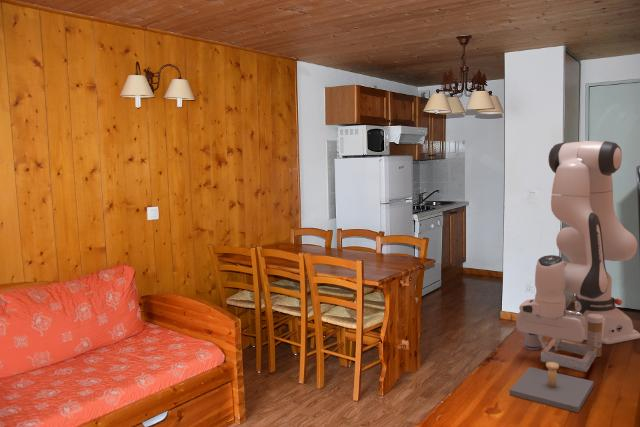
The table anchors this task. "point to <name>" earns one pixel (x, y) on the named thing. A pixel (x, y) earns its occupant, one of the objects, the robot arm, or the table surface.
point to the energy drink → (531, 341)
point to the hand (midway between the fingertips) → (549, 349)
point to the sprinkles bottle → (595, 332)
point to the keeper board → (552, 388)
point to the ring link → (568, 361)
